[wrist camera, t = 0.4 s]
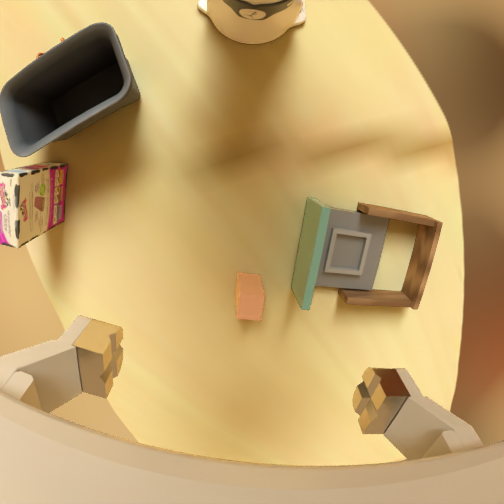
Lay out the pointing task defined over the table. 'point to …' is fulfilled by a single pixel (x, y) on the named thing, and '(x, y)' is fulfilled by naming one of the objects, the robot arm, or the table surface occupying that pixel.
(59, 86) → the storage bin
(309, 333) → the table surface
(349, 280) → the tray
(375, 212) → the dock
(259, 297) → the terracotta block
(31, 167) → the candy bar box
